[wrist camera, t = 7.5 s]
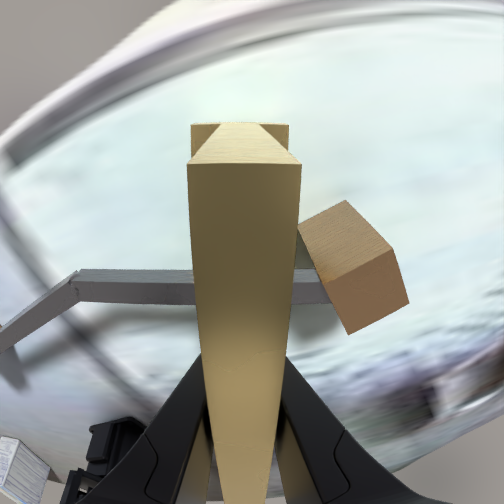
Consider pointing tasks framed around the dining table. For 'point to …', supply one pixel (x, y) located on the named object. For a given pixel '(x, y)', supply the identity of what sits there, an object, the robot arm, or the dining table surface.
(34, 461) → the medicine box
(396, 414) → the dining table surface
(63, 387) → the dining table surface
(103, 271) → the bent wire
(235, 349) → the wooden frame
